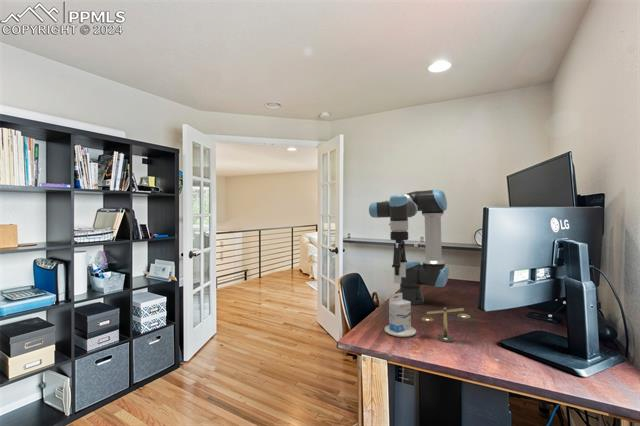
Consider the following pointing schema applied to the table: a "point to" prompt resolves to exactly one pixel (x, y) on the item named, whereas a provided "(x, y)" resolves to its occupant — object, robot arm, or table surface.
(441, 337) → the balance
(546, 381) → the table surface
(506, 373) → the table surface
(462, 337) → the table surface
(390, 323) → the ink box
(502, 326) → the table surface
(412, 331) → the dish
